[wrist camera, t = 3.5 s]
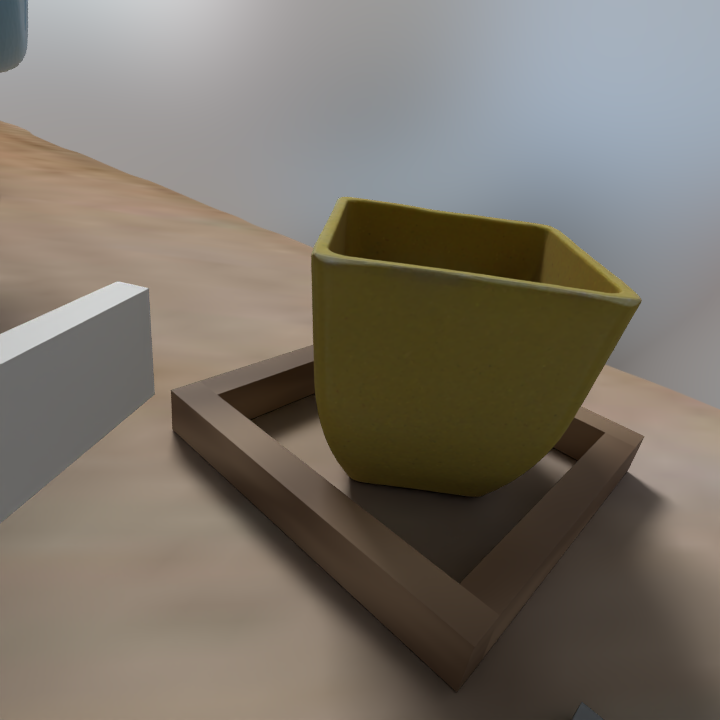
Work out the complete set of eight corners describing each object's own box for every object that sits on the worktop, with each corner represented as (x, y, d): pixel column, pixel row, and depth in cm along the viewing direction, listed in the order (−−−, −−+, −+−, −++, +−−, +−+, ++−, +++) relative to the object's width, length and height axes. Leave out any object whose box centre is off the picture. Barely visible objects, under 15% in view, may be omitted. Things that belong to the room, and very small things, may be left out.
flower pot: (283, 513, 17) (307, 248, 13) (317, 382, 25) (339, 191, 21) (543, 551, 17) (651, 301, 13) (496, 409, 25) (554, 224, 21)
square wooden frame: (172, 429, 20) (170, 390, 19) (389, 347, 29) (395, 318, 28) (456, 692, 13) (474, 646, 12) (627, 470, 22) (644, 436, 21)
